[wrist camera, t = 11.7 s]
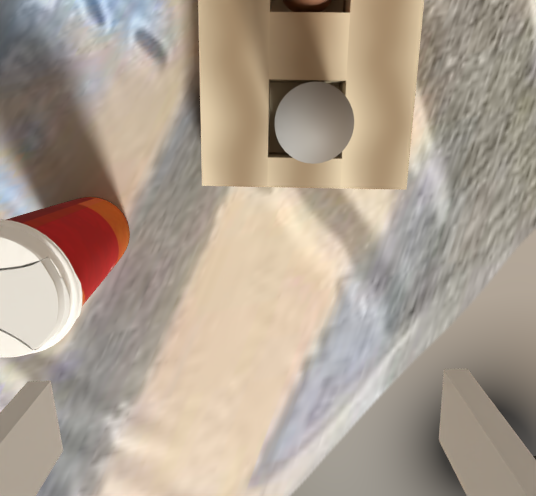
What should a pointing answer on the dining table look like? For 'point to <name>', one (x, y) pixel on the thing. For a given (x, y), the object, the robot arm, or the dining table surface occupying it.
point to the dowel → (306, 5)
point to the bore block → (308, 93)
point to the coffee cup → (54, 269)
